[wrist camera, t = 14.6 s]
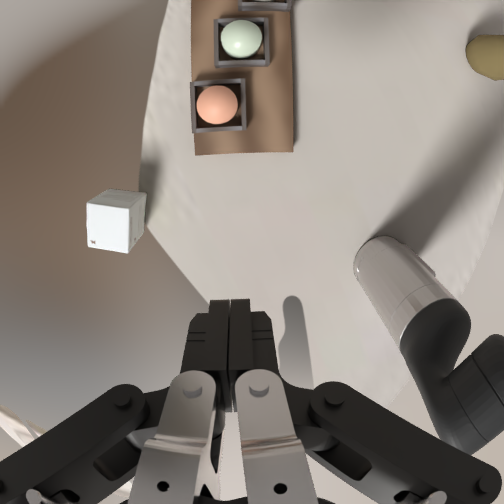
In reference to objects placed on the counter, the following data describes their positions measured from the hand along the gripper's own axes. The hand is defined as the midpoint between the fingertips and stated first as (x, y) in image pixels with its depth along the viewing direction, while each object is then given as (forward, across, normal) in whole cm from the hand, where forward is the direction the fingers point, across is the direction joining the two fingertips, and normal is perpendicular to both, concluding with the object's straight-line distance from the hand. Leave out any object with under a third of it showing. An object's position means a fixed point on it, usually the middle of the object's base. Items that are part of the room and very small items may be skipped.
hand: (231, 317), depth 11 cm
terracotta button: (+26, +2, -9) cm, 28 cm away
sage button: (+26, -1, -17) cm, 31 cm away
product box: (+29, +16, +4) cm, 34 cm away
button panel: (+29, -1, -17) cm, 34 cm away
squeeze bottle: (+29, -40, -23) cm, 55 cm away
